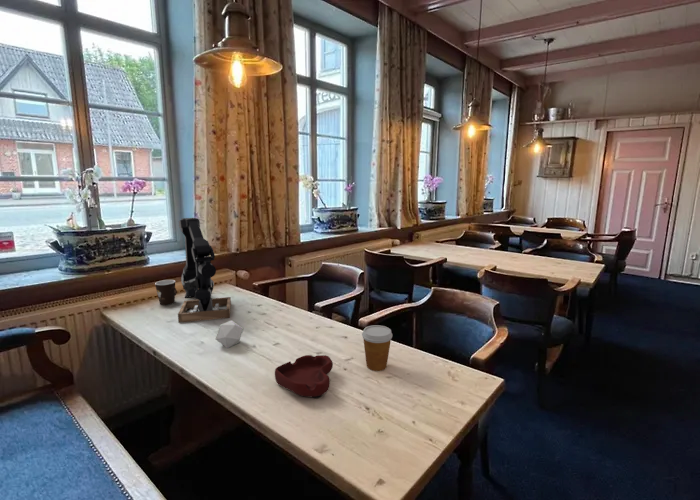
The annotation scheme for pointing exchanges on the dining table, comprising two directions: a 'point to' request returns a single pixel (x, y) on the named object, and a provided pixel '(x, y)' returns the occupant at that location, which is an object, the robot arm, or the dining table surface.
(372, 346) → the disposable coffee cup
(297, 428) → the dining table surface
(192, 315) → the wooden serving tray
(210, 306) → the grey block
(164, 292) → the coffee mug
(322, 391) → the ashtray
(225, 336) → the die
